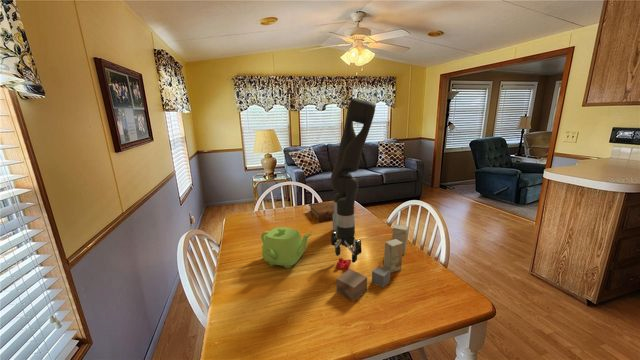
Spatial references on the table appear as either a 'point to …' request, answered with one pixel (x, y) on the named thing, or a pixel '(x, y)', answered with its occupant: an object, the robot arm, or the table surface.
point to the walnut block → (351, 285)
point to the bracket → (341, 262)
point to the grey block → (381, 276)
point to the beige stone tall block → (400, 235)
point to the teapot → (283, 246)
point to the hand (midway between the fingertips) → (346, 258)
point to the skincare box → (393, 255)
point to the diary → (322, 210)
